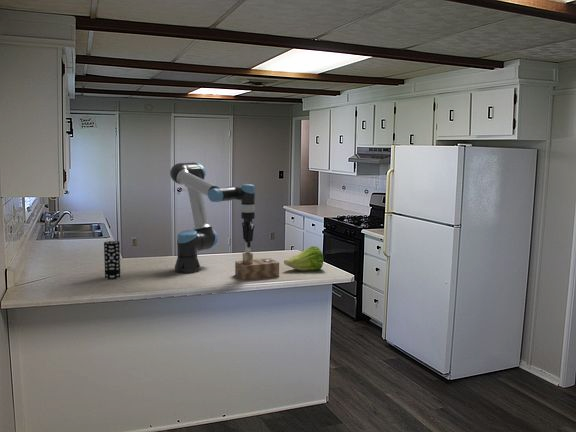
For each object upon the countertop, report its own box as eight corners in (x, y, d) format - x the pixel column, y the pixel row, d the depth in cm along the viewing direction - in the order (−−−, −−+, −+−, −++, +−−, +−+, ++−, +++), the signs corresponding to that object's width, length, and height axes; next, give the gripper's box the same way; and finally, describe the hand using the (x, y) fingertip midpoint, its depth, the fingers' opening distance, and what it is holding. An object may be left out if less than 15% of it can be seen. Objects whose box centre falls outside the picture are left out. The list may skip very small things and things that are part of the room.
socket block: (243, 280, 300) (243, 266, 298) (235, 274, 311) (235, 261, 310) (279, 276, 310) (279, 262, 308) (269, 271, 321) (269, 258, 320)
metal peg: (264, 274, 310) (264, 261, 309) (261, 273, 314) (261, 259, 313) (271, 274, 312) (271, 260, 311) (268, 272, 316) (268, 259, 315)
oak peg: (245, 267, 304) (245, 254, 303) (242, 266, 308) (242, 252, 307) (252, 267, 306) (252, 253, 305) (249, 265, 310) (249, 252, 309)
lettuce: (289, 276, 314) (280, 272, 328) (326, 270, 324) (316, 266, 338) (287, 251, 313) (278, 249, 327) (324, 246, 322) (314, 244, 336)
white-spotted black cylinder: (111, 280, 295) (110, 244, 292) (101, 277, 299) (100, 242, 296) (123, 277, 302) (122, 242, 299) (113, 274, 306) (112, 240, 303)
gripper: (258, 212, 298) (258, 254, 302) (249, 210, 310) (249, 250, 313) (246, 213, 295) (246, 255, 298) (237, 210, 306) (237, 251, 310)
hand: (247, 252), depth 306 cm, fingers closed
